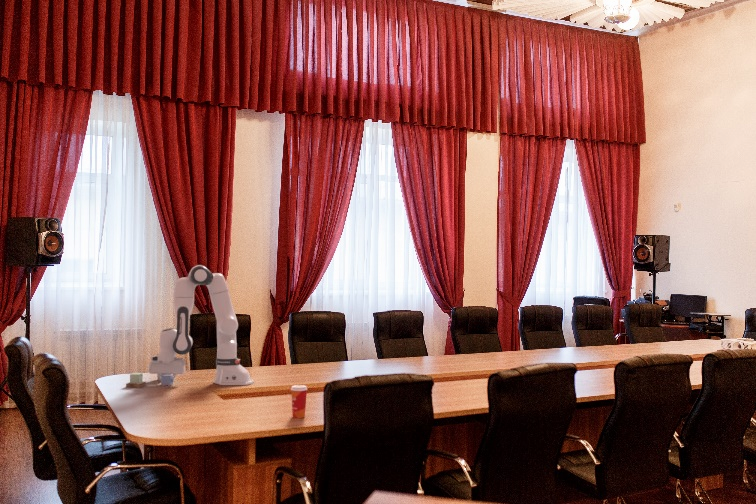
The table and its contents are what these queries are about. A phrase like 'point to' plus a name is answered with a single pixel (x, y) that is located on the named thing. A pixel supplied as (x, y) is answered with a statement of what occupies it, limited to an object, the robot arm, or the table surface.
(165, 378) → the blue block
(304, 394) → the paper cup
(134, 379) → the green block
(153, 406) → the table surface
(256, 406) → the table surface
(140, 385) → the baseplate
